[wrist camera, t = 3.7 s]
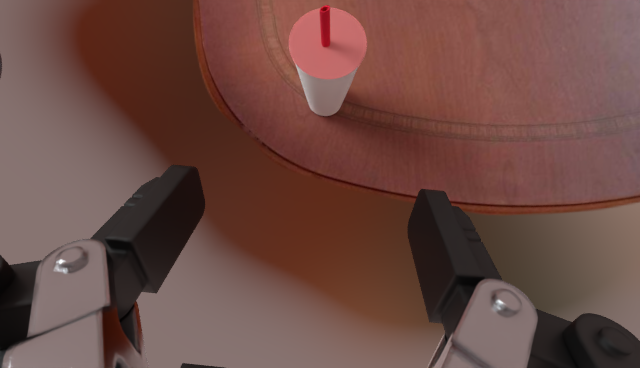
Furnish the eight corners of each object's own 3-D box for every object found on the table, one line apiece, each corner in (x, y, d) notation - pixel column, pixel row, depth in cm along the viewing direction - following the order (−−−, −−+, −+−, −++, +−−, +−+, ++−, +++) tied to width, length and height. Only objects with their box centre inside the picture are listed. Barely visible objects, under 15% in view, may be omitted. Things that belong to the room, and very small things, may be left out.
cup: (288, 91, 28) (266, -6, 16) (333, 65, 29) (344, -48, 17) (316, 135, 28) (313, 67, 16) (362, 108, 28) (394, 22, 16)
